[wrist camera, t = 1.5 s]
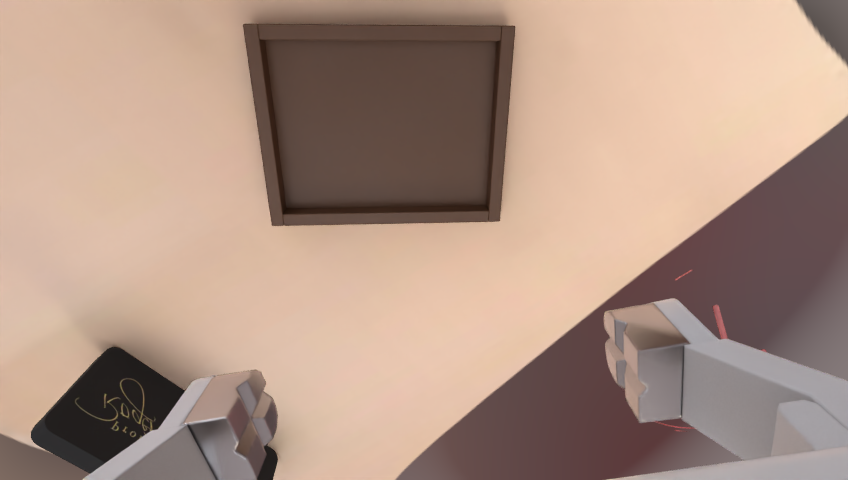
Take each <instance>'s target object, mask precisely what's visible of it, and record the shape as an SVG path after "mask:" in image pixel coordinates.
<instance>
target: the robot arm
mask: <svg viewBox="0 0 848 480" xmlns="http://www.w3.org/2000/svg"><path fill="white" fill-rule="evenodd" d="M604 328H605V329H606V331H607V332H608V334H609V336H610V337H609V339H608V340H607V342H606V343H605V348H606V357H607V361H608V366H609V369H610V371H611V374H612V376H613V378H614V380H615V382H616V384H617V385H618V386H620V387H622V388H624V389H625V393H626V401H627V403H628V404H629V406H630V408H631V410H632V411H633V413H634V415H635V416H636V418H637V420H638V421H639V423H644V422H652V421H661V420H669V419H677V418H682V420H683V421H685V422H686V423H688V424H689V425H691V426H692V427H694V428H695V429H697V430H698V431H700V432H701V433H703V434H704V435H706V436H708V437H709V438H711V439H712V440H714V441H715V442H717V443H718V444H720V445H721V446H723V447H724V448H726V449H728V450H729V451H730V452H732V453H733V454H735V455H737V456H738V457H740V458H741V459H743V461H736V462H729V463H721V464H715V465H707V466H700V467H694V468H686V469H679V470H672V471H665V472H658V473H651V474H644V475H637V476H630V477H623V478H615V479H608V480H848V381H847V380H844V379H841V378H838V377H835V376H832V375H829V374H827V373H824V372H821V371H818V370H815V369H812V368H810V367H807V366H804V365H801V364H798V363H795V362H792V361H789V360H787V359H784V358H781V357H778V356H775V355H772V354H769V353H766V352H764V351H761V350H758V349H755V348H752V347H749V346H746V345H744V344H741V343H737V342H735V341H732V340H729V339H721V340H719V339H718V338H717V337H716V336H715V335H714V334H713V333H712V332H711V331H710V330H709V329H708V328H706V327H705V326H704V325H703V324H702V323H701V322H700V321H699V320H698V319H697V318H696V317H695V316H694V315H693V314H692V313H691V312H690V311H689V310H688V309H687V308H686V307H685V306H684V305H682V303H681V302H680V301H678V300H677V299H674V298H672V299H667V300H662V301H658V302H653V303H650V304H645V305H639V306H634V307H628V308H622V309H617V310H611V311H606V312H605V314H604ZM265 385H266V381H265V379H264V377H263V375H262V373H261V372H260V371H258V370H250V371H243V372H236V373H229V374H223V375H217V376H210V377H204V378H198V379H196V380H194V381H192V382H191V384H190V385H189V386H188V388H187V389H186V391H185V392H184V393H183V395H182V396H181V398H180V399H179V400H178V402H177V403H176V405H175V406H174V408H173V409H172V410H171V412H170V413H169V415H168V416H167V417H166V419H165V420H164V422H163V423H162V424H161V426H160V427H159V429H158V430H152V431H150V432H149V433H147V434H146V435H145V436H143V437H142V438H140V439H139V440H137V441H136V442H135V443H133V444H132V445H130V446H129V447H128V448H126V449H125V450H123V451H122V452H120V453H119V454H118V455H116V456H115V457H113V458H112V459H111V460H109V461H108V462H106V463H105V464H104V465H102V466H101V467H99V468H98V469H96V470H95V471H94V472H92V473H91V474H89V475H88V476H87V477H85V478H84V479H82V480H257V478H258V475H259V473H260V470H261V468H262V465H263V463H264V460H265V458H266V455H267V454H266V452H265V450H264V446H265V445H267V444H268V443H269V442H270V441H271V440H272V439H273V437H274V434H275V431H276V428H277V416H278V415H277V410H276V405H275V403H274V400H273V398H272V397H271V396H269V395H268V394H266V393H265V392H264V391H263V390H264V388H265Z"/></svg>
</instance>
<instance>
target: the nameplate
mask: <svg viewBox="0 0 848 480" xmlns="http://www.w3.org/2000/svg"><path fill="white" fill-rule="evenodd" d="M184 392H185V391H184V390H182V389H181V388H179V387H178V386H176V385H175V384H173V383H172V382H170V381H169V380H167V379H166V378H164V377H163V376H161V375H160V374H158V373H157V372H155V371H154V370H152V369H151V368H149V367H148V366H146V365H145V364H143V363H142V362H140V361H139V360H137V359H136V358H134V357H133V356H131V355H130V354H128V353H127V352H125V351H124V350H122V349H120V348H116V347H112V348H109V349H107V350H106V351H105V352H104V353H103V354H102V355H101V356H100V357H98V358H97V359H96V360H95V361H94V362H93V363H92V364H91V366H90V367H89V368H88V369H87V370H86V371H85V372H84V373H83V374H82V375H81V376H80V378H79V379H78V380H77V381H76V382H75V383H74V384H73V385H72V386H71V387H70V388H69V389H68V391H67V392H66V393H65V394H64V395H63V396H62V397H61V398H60V399H59V400H58V401H57V403H56V404H55V405H54V406H53V407H52V408H51V409H50V410H49V411H48V412H47V413H46V414H45V416H44V417H43V418H42V419H41V420H40V421H39V422H38V423H37V424H36V425H35V426H34V428H33V429H32V431H31V438H32V440H33V442H34V443H35V444H37V445H38V446H40V447H42V448H43V449H45V450H47V451H49V452H51V453H53V454H55V455H57V456H59V457H60V458H62V459H64V460H66V461H68V462H70V463H72V464H73V465H75V466H77V467H79V468H81V469H83V470H84V471H86V472H88V473H90V474H91V473H92V472H94V471H95V470H96V469H98V468H99V467H101V466H102V465H104V464H105V463H106V462H108V461H109V460H111V459H112V458H113V457H115V456H116V455H118V454H119V453H120V452H122V451H123V450H125V449H126V448H128V447H129V446H130V445H132V444H133V443H135V442H136V441H137V440H139V439H140V438H142V437H143V436H145V435H146V434H147V433H149V432H150V431H152V430H158V429H159V427H160V426H161V424H162V423H163V422H164V420H165V419H166V417H167V416H168V415H169V413H170V412H171V410H172V409H173V408H174V406H175V405H176V403H177V402H178V400H179V399H180V398H181V396H182V395H183V393H184ZM264 450H265V452H266V454H267V455H266V458H265V460H264V463H263V465H262V468H261V470H260V473H259V475H258V478H257V480H273V477H274V473H275V469H276V465H277V461H278V459H277V455H276V453H275V451H274V450H273V449H271V448H269V447H268V446H266V445H265V446H264Z"/></svg>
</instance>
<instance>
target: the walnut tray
mask: <svg viewBox="0 0 848 480" xmlns="http://www.w3.org/2000/svg"><path fill="white" fill-rule="evenodd" d="M243 28H244V35H245V42H246V49H247V56H248V63H249V70H250V77H251V84H252V91H253V97H254V104H255V111H256V118H257V125H258V132H259V139H260V146H261V153H262V160H263V167H264V174H265V181H266V188H267V195H268V202H269V208H270V215H271V222H272V226H283V225H285V226H291V225H343V224H396V223H448V222H488V221H489V222H494V221H500V211H501V199H502V186H503V174H504V161H505V149H506V136H507V124H508V112H509V99H510V87H511V74H512V62H513V49H514V37H515V26H457V25H325V24H243Z"/></svg>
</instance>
